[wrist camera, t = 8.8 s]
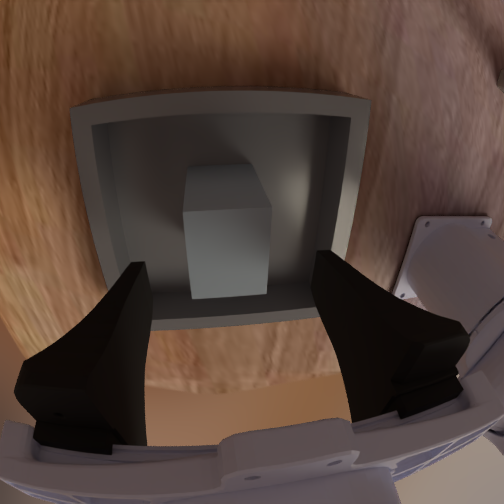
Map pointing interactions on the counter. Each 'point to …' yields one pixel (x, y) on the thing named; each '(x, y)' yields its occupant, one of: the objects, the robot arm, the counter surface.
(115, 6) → the counter surface
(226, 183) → the tall grey cuboid
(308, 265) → the dark grey square tray
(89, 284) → the counter surface
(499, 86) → the lighter
